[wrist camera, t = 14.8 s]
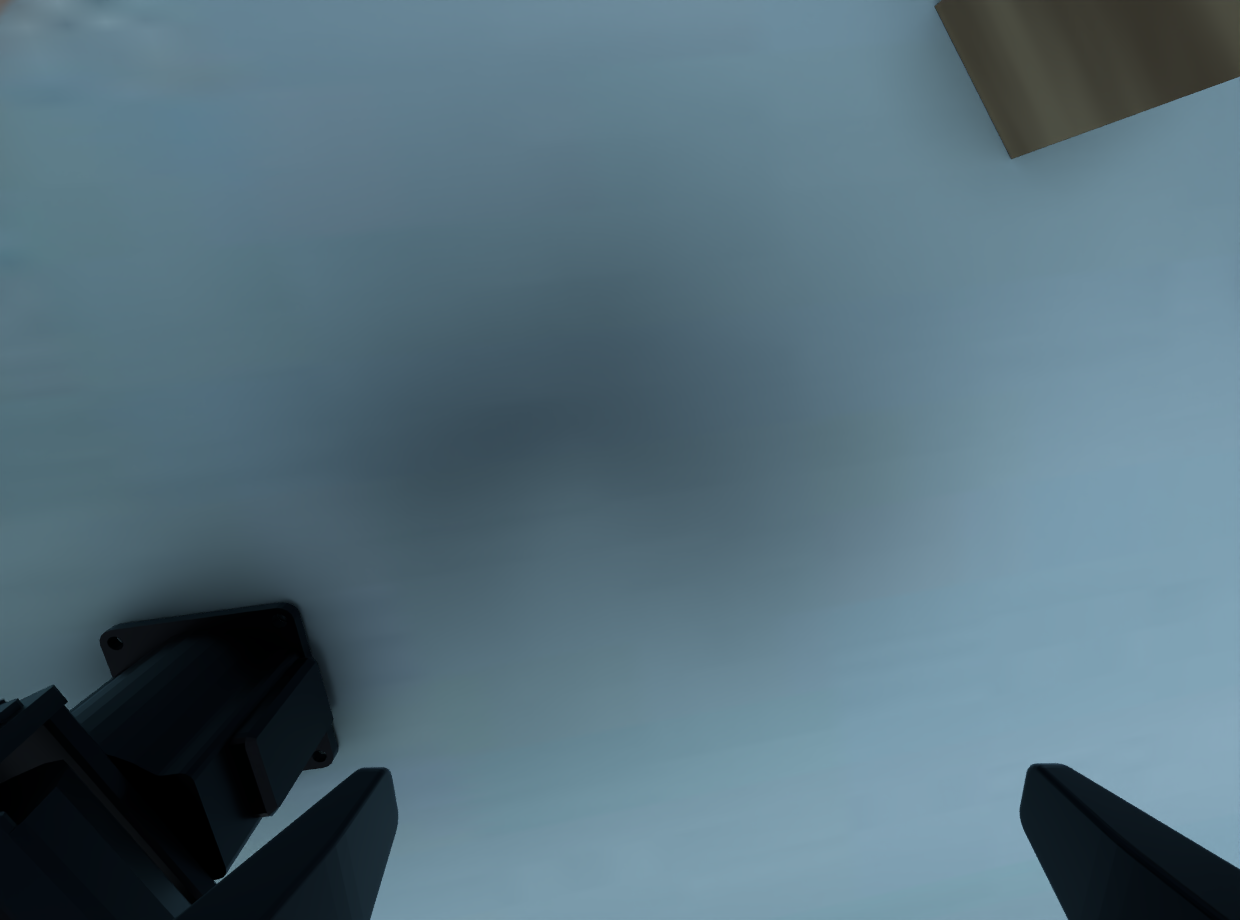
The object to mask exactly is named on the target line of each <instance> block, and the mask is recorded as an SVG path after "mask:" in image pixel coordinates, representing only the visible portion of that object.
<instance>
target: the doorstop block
mask: <svg viewBox="0 0 1240 920" xmlns="http://www.w3.org/2000/svg"><path fill="white" fill-rule="evenodd" d="M935 8H936V10H937V12H938V14H939V16H940V18H941V20H942V22H943V24H944V26H945V28H946V30H947V32H948V34H949V36H950V38H951V40H952V42H953V44H954V46H955V48H956V50H957V52H958V54H959V56H960V58H961V60H962V62H963V64H964V66H965V68H966V70H967V72H968V74H969V76H970V78H971V80H972V82H973V84H974V86H975V88H976V90H977V92H978V94H979V96H980V98H981V100H982V102H983V104H984V106H985V108H986V109H987V111H988V113H989V115H990V117H991V119H992V121H993V123H994V125H995V127H996V129H997V131H998V133H999V135H1000V137H1001V139H1002V141H1003V143H1004V145H1005V147H1006V149H1007V151H1008V153H1009V155H1010V157H1011V159H1013V158H1016V157H1019V156H1021V155H1024V154H1027V153H1030V152H1032V151H1035V150H1038V149H1041V148H1044V147H1046V146H1049V145H1052V144H1055V143H1057V142H1060V141H1063V140H1066V139H1068V138H1071V137H1074V136H1077V135H1079V134H1082V133H1085V132H1088V131H1090V130H1093V129H1096V128H1099V127H1102V126H1104V125H1107V124H1110V123H1113V122H1115V121H1118V120H1121V119H1124V118H1126V117H1129V116H1132V115H1135V114H1137V113H1140V112H1143V111H1146V110H1148V109H1151V108H1154V107H1157V106H1160V105H1162V104H1165V103H1168V102H1171V101H1173V100H1176V99H1179V98H1182V97H1184V96H1187V95H1190V94H1193V93H1195V92H1198V91H1201V90H1204V89H1206V88H1209V87H1212V86H1215V85H1218V84H1220V83H1223V82H1226V81H1229V80H1231V79H1234V78H1237V77H1240V0H941V1H940V2H939V3H938V4H937V5H936V6H935Z"/></svg>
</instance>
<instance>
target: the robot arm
mask: <svg viewBox="0 0 1240 920" xmlns="http://www.w3.org/2000/svg"><path fill="white" fill-rule="evenodd" d="M278 615H283V616H284V617H285V618H286V619H287V622H283V621H281V620H280V619H279V618H278ZM117 637H118V638H120V639H121V640H122V641H123V643H122V642H120V641H119V640H118V639H117ZM100 646H101V648H102V651H103V653H104V656H105V659H106V661H107V664H108V666H109V669H110V671H111V674H112V677H113V678H112V679H110V680H109V681H108V682H106V683H105V684H104V685H102V686H101V687H100V688H99V689H97V690H96V691H95V692H93V693H92V694H91V695H89V696H88V697H87V698H86V699H84V700H83V701H82V702H80V703H79V704H78V705H76V706H75V707H74V708H73V709H71V710H70V711H69V710H68V709H67V708H66V707H65V706H64V705H65V704H66V703H67V702H68V701H67V700H66V698H65V697H64V696H63V695H62V694H61V693H60V691H59V690H58V689H57V688H56V687H55V686H54V685H51V686H49V687H47V688H45V689H43V690H41V691H39V692H36V693H34V694H32V695H30V696H28V697H26V698H24V699H22V700H19V699H18V698H17V699H14V700H11V701H9V702H6V701H5V700H4V699H2V700H0V920H370V918H371V915H372V911H373V908H374V904H375V901H376V898H377V894H378V891H379V888H380V884H381V881H382V877H383V874H384V871H385V867H386V864H387V861H388V857H389V854H390V850H391V847H392V844H393V840H394V837H395V834H396V830H397V825H398V808H397V802H396V797H395V791H394V785H393V780H392V775H391V772H390V771H389V769H387V768H384V767H374V768H360V769H358V770H357V771H355V772H354V773H353V774H351V775H350V776H349V777H348V778H346V779H345V780H344V781H343V782H342V783H340V784H339V785H338V786H337V787H335V788H334V789H333V790H332V791H331V792H329V793H328V794H327V795H326V796H324V797H323V798H322V799H321V800H319V801H318V802H317V803H316V804H315V805H313V806H312V807H311V808H310V809H308V810H307V811H306V812H305V813H304V814H302V815H301V816H300V817H299V818H297V819H296V820H295V821H294V822H293V823H291V824H290V825H289V826H288V827H286V828H285V829H284V830H283V831H281V832H280V833H279V834H278V835H277V836H275V837H274V838H273V839H272V840H270V841H269V842H268V843H267V844H266V845H264V846H263V847H262V848H261V849H259V850H258V851H257V852H256V853H254V854H253V855H252V856H251V857H250V858H248V859H247V860H246V861H245V862H243V863H242V864H241V865H240V866H239V867H237V868H236V869H235V870H234V871H232V872H231V873H230V874H229V875H227V876H226V877H225V878H224V879H223V880H221V881H220V882H219V883H218V884H216V882H215V881H214V880H217V879H220V878H223V877H224V876H225V875H226V873H227V872H228V870H229V869H230V867H231V865H232V864H233V862H234V861H235V859H236V858H237V856H238V855H239V853H240V851H241V850H242V848H243V847H244V845H245V844H246V842H247V841H248V839H249V837H250V836H251V834H252V833H253V831H254V830H255V828H256V827H257V825H258V823H259V822H260V820H261V819H262V817H268V816H272V815H273V814H274V813H275V812H276V811H277V810H278V808H279V807H280V806H281V804H282V802H283V801H284V799H285V798H286V796H287V794H288V793H289V791H290V790H291V788H292V786H293V785H294V783H295V782H296V780H297V778H298V777H299V775H300V774H301V772H302V771H304V770H311V769H318V768H324V767H327V766H329V765H330V764H331V763H332V761H333V760H334V758H335V756H336V754H337V752H338V745H337V742H336V738H335V735H334V731H333V728H332V722H333V716H332V712H331V709H330V705H329V702H328V698H327V695H326V691H325V688H324V684H323V681H322V677H321V674H320V670H319V667H318V663H317V662H316V661H315V660H314V658H313V657H312V654H311V651H310V647H309V644H308V640H307V637H306V633H305V630H304V626H303V623H302V619H301V616H300V613H299V611H298V609H297V608H296V607H295V606H294V605H292V604H290V603H284V602H281V603H273V604H266V605H258V606H251V607H243V608H236V609H228V610H221V611H213V612H206V613H198V614H191V615H183V616H176V617H168V618H161V619H153V620H146V621H139V622H131V623H124V624H118V625H115V626H113V627H112V628H110V629H109V630H107V631H106V632H104V633H103V634H102V635H101V638H100ZM318 750H319V751H323V752H325V754H321V753H320V752H319V751H318ZM1020 819H1021V823H1022V826H1023V829H1024V831H1025V834H1026V836H1027V838H1028V840H1029V842H1030V844H1031V846H1032V848H1033V850H1034V852H1035V854H1036V856H1037V858H1038V860H1039V862H1040V864H1041V866H1042V868H1043V870H1044V872H1045V874H1046V876H1047V878H1048V880H1049V882H1050V884H1051V886H1052V888H1053V890H1054V892H1055V894H1056V896H1057V898H1058V900H1059V902H1060V904H1061V906H1062V908H1063V910H1064V912H1065V914H1066V916H1067V918H1068V920H1240V869H1239V868H1237V867H1235V866H1234V865H1232V864H1230V863H1228V862H1227V861H1225V860H1223V859H1222V858H1220V857H1218V856H1217V855H1215V854H1213V853H1212V852H1210V851H1208V850H1207V849H1205V848H1203V847H1202V846H1200V845H1198V844H1197V843H1195V842H1193V841H1192V840H1190V839H1188V838H1187V837H1185V836H1183V835H1182V834H1180V833H1178V832H1177V831H1175V830H1173V829H1172V828H1170V827H1168V826H1167V825H1165V824H1163V823H1162V822H1160V821H1158V820H1157V819H1155V818H1153V817H1152V816H1150V815H1148V814H1147V813H1145V812H1143V811H1142V810H1140V809H1138V808H1137V807H1135V806H1133V805H1132V804H1130V803H1128V802H1127V801H1125V800H1123V799H1122V798H1120V797H1118V796H1117V795H1115V794H1113V793H1112V792H1110V791H1108V790H1107V789H1105V788H1103V787H1102V786H1100V785H1098V784H1097V783H1095V782H1093V781H1092V780H1090V779H1088V778H1087V777H1085V776H1083V775H1082V774H1080V773H1078V772H1077V771H1075V770H1073V769H1072V768H1070V767H1068V766H1066V765H1063V764H1058V763H1037V764H1032V765H1031V766H1030V767H1029V768H1028V770H1027V773H1026V778H1025V783H1024V788H1023V794H1022V799H1021V804H1020Z"/></svg>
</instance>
